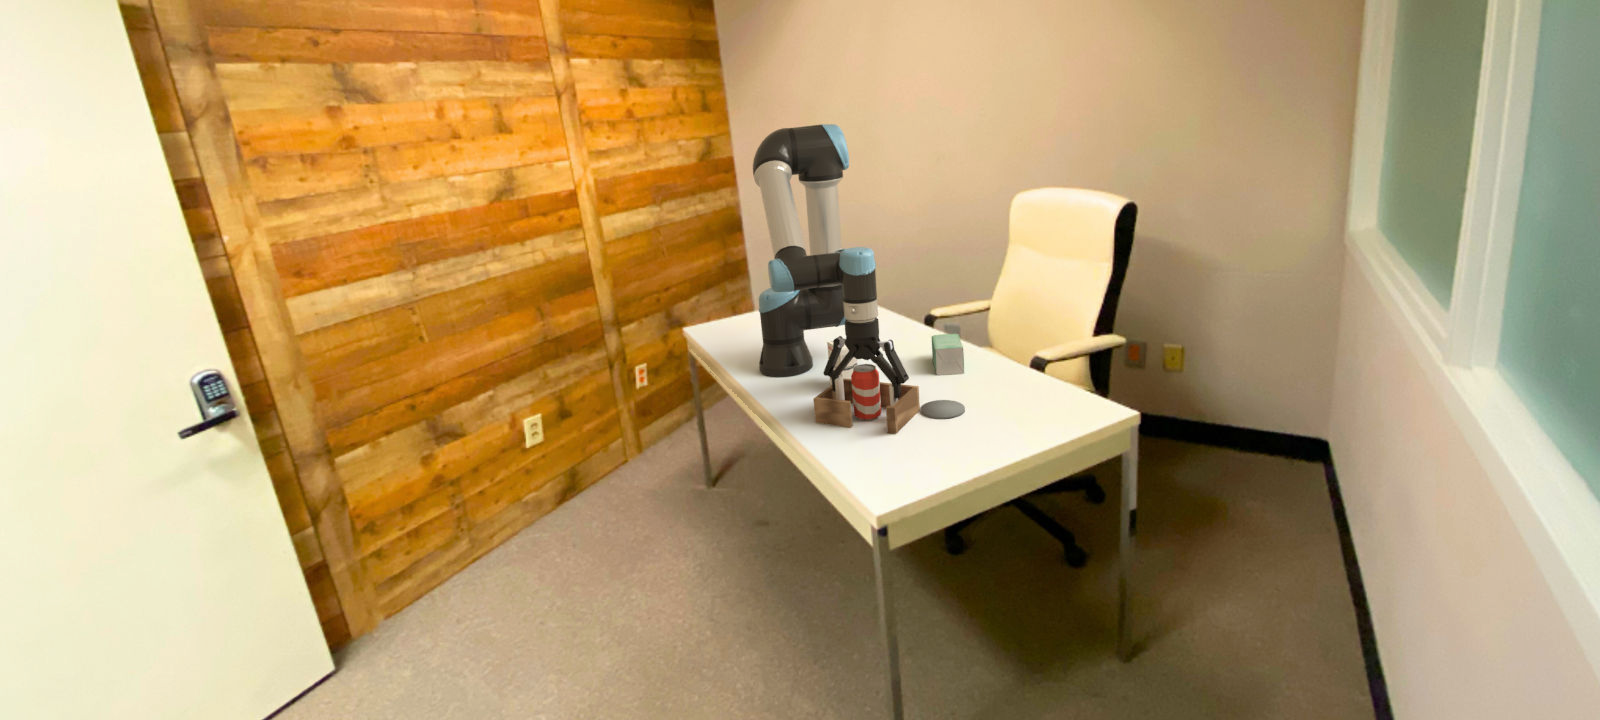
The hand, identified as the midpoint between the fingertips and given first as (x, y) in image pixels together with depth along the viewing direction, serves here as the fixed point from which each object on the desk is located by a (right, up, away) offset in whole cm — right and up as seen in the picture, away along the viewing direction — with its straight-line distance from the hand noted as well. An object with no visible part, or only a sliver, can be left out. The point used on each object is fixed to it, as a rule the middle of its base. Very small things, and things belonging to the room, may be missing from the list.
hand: (867, 407), depth 171 cm
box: (+24, +9, +29) cm, 39 cm away
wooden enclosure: (0, -2, +1) cm, 2 cm away
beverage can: (0, -2, +1) cm, 2 cm away
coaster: (+17, -1, 0) cm, 17 cm away
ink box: (-4, +4, +21) cm, 21 cm away
